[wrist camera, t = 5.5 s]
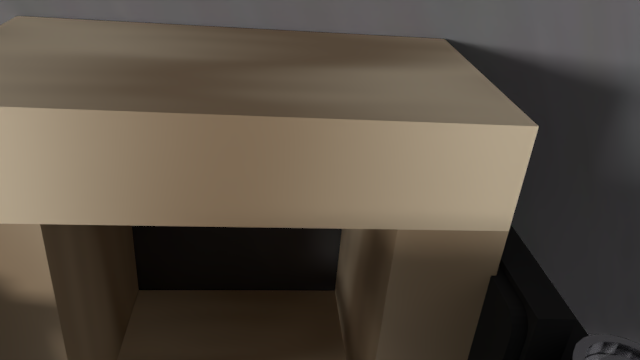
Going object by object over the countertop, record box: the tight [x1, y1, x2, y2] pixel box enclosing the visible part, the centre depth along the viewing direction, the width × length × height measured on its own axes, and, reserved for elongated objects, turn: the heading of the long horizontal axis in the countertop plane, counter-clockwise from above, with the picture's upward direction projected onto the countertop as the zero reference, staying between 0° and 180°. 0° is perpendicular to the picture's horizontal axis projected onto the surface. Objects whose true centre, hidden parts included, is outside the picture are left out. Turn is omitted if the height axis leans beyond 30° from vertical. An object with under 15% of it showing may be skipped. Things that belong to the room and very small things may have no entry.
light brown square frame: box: [0, 16, 539, 360], centre depth 10 cm, size 7×7×4 cm
